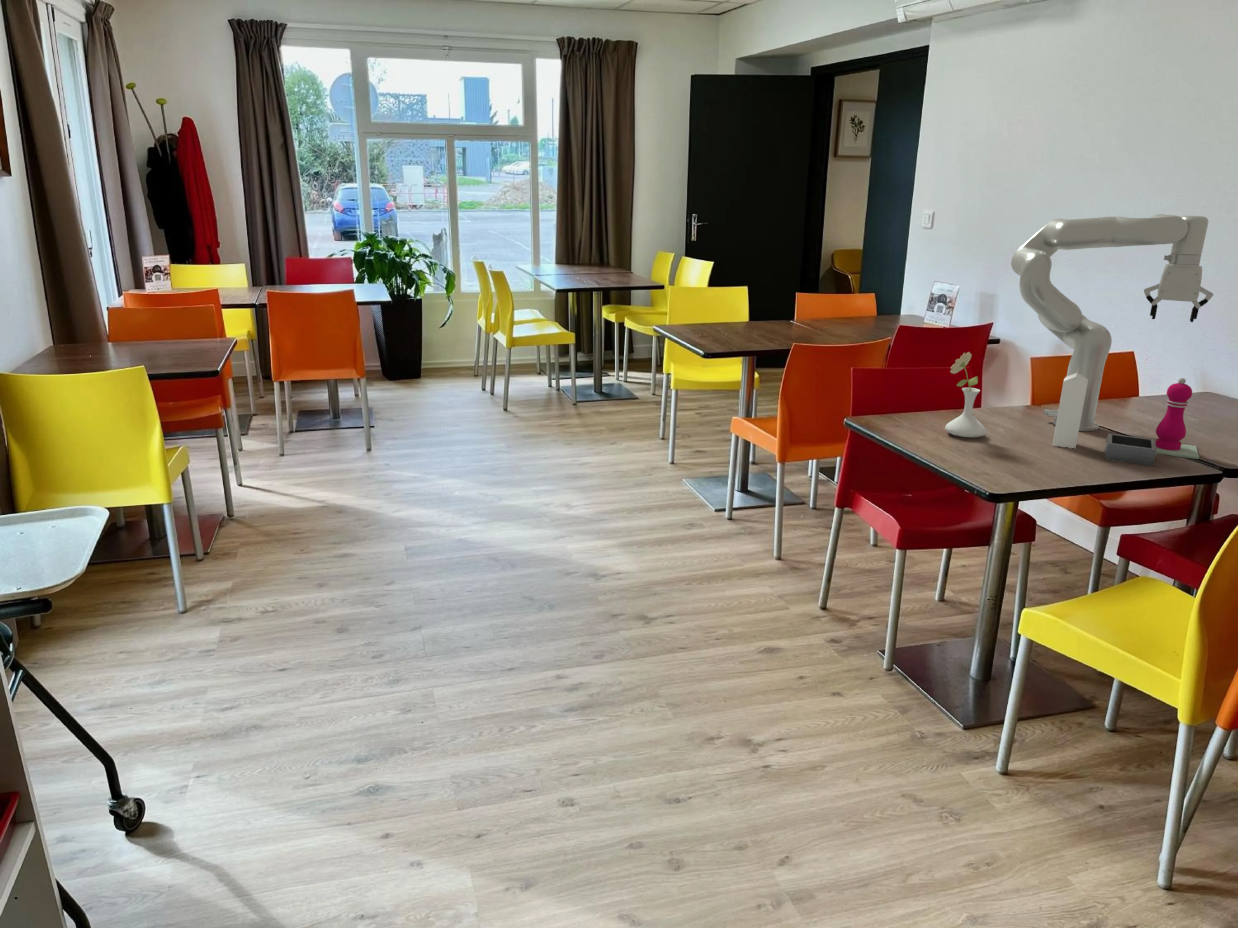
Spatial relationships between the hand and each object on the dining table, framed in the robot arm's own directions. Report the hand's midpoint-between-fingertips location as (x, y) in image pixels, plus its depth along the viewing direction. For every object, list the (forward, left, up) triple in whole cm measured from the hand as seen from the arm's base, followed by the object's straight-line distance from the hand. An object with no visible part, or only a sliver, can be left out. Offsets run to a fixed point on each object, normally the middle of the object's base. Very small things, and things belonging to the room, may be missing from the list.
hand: (1172, 320), depth 259 cm
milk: (-22, -32, -34) cm, 51 cm away
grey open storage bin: (-6, -36, -33) cm, 49 cm away
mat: (+4, -22, -33) cm, 40 cm away
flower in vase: (-49, -37, -34) cm, 70 cm away
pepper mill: (+4, -22, -33) cm, 40 cm away
